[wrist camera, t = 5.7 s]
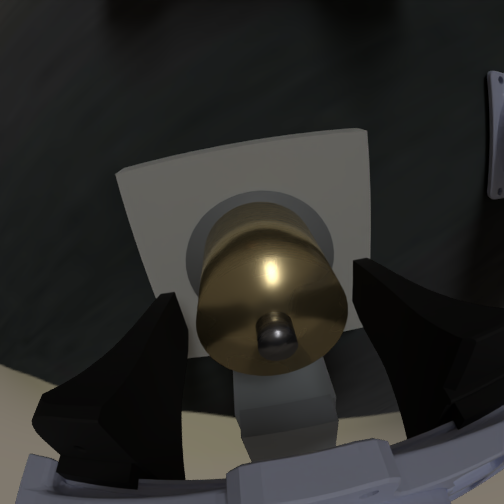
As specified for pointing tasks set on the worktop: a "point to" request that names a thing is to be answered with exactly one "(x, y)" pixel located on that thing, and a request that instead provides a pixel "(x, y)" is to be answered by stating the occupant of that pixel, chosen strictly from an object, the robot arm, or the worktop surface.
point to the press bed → (227, 198)
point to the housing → (267, 293)
